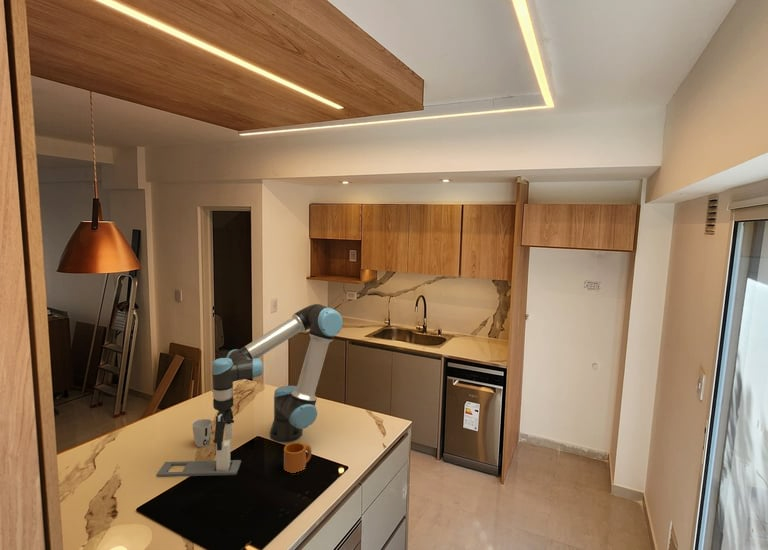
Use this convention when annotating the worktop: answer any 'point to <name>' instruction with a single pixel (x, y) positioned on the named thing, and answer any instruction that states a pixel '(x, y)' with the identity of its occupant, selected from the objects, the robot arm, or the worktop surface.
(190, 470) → the socket strip
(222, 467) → the plug
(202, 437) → the cup
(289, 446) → the mug
